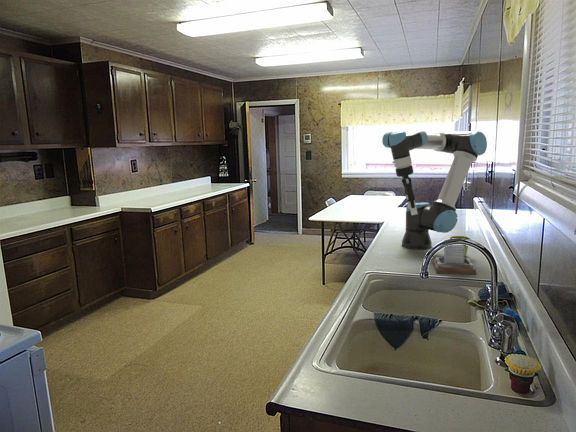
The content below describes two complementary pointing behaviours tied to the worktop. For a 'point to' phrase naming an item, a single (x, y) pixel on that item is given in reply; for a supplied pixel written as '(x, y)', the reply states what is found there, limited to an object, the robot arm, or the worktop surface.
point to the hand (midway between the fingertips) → (412, 211)
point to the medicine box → (454, 254)
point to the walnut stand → (453, 266)
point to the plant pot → (463, 245)
